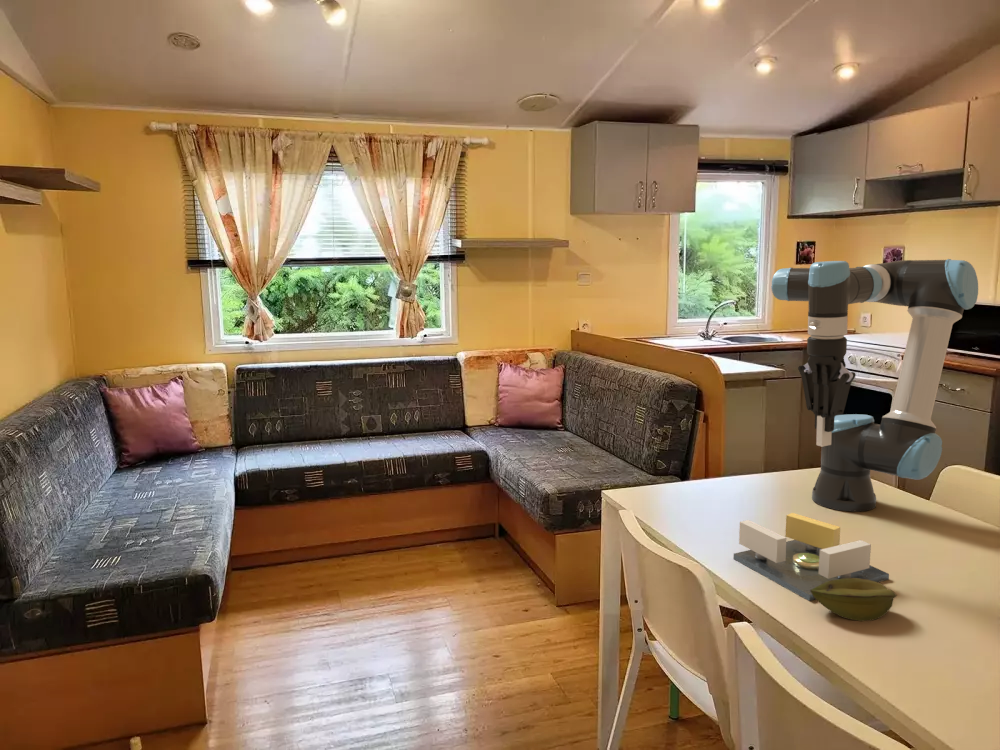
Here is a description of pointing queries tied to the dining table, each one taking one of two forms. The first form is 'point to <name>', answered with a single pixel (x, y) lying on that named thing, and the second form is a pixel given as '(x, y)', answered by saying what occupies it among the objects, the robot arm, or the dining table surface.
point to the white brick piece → (844, 559)
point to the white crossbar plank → (762, 541)
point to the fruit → (855, 598)
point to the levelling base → (800, 569)
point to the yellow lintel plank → (812, 532)
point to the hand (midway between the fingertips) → (823, 444)
